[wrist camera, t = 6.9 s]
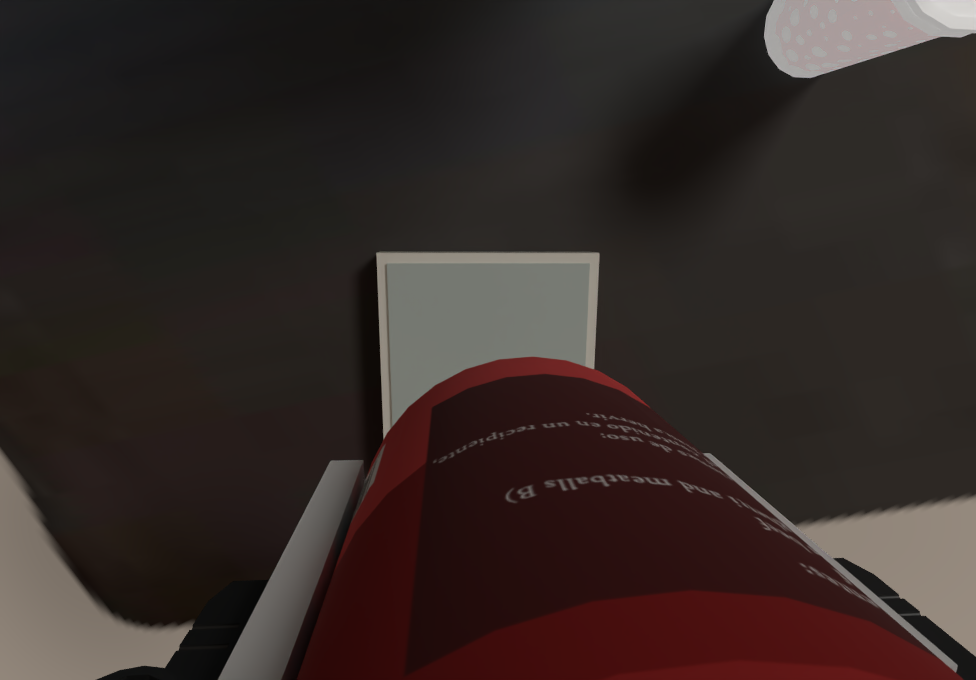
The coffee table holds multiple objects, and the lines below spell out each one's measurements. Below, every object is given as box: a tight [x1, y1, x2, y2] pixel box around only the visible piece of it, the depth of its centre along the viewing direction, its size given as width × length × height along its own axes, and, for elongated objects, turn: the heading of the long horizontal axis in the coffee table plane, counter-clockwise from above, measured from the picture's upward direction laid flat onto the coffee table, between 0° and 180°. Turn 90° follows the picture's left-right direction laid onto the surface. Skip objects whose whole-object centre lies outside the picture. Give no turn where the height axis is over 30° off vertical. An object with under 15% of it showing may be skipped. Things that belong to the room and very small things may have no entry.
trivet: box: [376, 252, 599, 438], centre depth 28 cm, size 11×11×2 cm
